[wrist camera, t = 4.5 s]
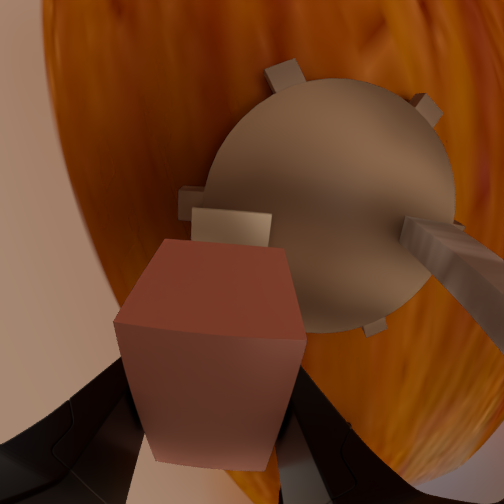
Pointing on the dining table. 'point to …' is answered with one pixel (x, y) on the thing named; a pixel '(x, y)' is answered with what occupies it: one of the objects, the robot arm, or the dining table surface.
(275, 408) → the dusty pink block
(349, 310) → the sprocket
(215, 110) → the dining table surface
